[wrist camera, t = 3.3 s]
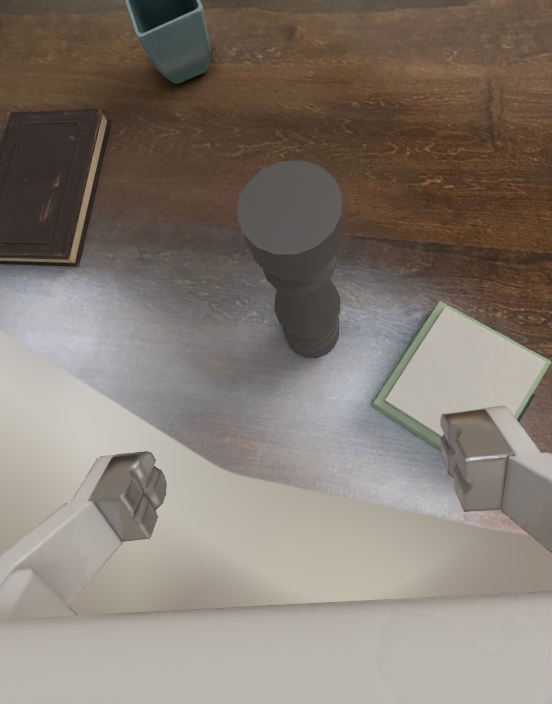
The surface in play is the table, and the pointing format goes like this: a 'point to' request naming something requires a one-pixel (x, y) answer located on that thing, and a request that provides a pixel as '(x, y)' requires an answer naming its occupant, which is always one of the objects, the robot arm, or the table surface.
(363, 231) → the table surface
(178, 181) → the table surface
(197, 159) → the table surface
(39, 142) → the hardcover book
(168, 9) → the flower pot
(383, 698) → the robot arm
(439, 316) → the scale
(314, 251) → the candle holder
